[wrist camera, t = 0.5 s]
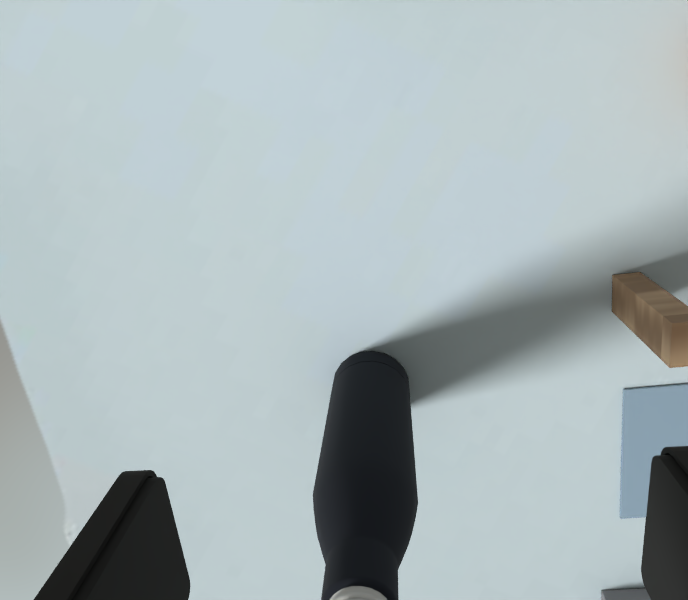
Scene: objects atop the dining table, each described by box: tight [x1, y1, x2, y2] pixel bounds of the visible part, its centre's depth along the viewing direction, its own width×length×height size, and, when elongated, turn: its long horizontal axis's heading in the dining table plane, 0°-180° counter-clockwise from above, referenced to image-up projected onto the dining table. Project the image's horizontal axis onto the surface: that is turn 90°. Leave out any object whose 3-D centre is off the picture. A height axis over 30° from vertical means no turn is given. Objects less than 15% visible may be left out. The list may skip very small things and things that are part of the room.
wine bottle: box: [313, 351, 418, 600], centre depth 34 cm, size 6×6×30 cm
